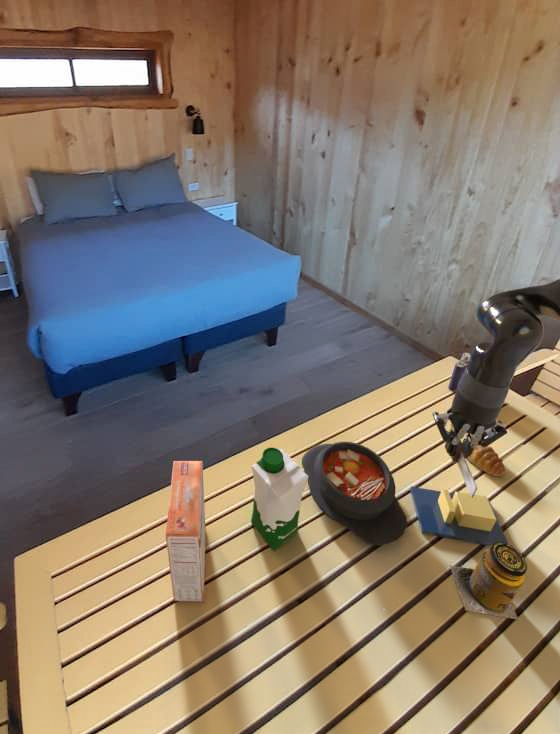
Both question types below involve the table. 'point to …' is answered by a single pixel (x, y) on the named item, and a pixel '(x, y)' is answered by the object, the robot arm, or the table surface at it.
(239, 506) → the table surface
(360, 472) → the casserole
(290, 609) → the table surface
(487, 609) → the condiment
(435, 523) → the butter dish
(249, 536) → the table surface
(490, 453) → the pastry
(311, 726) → the table surface
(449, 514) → the butter pat
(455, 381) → the flask
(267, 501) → the milk carton
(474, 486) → the knife
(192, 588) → the cracker box
